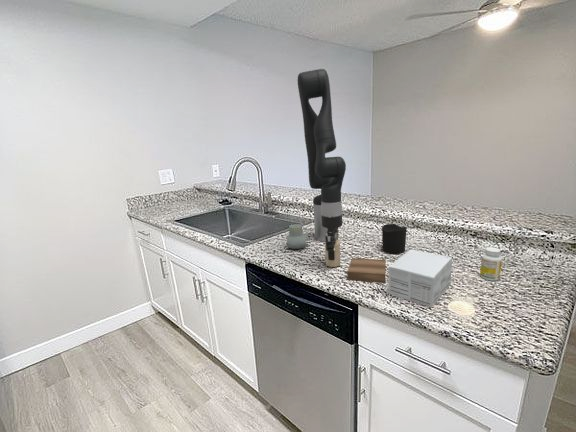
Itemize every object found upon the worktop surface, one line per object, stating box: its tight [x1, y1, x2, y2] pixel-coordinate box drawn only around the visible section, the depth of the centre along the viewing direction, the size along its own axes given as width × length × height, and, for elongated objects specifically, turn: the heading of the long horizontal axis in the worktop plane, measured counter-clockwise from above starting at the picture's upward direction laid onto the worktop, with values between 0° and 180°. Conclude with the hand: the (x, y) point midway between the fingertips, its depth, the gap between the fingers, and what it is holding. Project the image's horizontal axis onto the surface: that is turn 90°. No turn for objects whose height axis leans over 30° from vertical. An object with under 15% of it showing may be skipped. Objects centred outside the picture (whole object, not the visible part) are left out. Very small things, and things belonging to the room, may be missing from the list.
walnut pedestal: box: [347, 257, 387, 284], centre depth 106 cm, size 12×12×3 cm
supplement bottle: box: [479, 246, 503, 282], centre depth 97 cm, size 5×5×10 cm
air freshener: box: [286, 223, 307, 250], centre depth 135 cm, size 11×8×10 cm
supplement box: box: [387, 249, 453, 308], centre depth 93 cm, size 17×13×9 cm
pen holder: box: [381, 223, 408, 255], centre depth 124 cm, size 9×9×10 cm
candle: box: [324, 239, 341, 268], centre depth 113 cm, size 6×6×10 cm
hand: (332, 256), depth 114 cm, fingers closed on candle, 5 cm apart
